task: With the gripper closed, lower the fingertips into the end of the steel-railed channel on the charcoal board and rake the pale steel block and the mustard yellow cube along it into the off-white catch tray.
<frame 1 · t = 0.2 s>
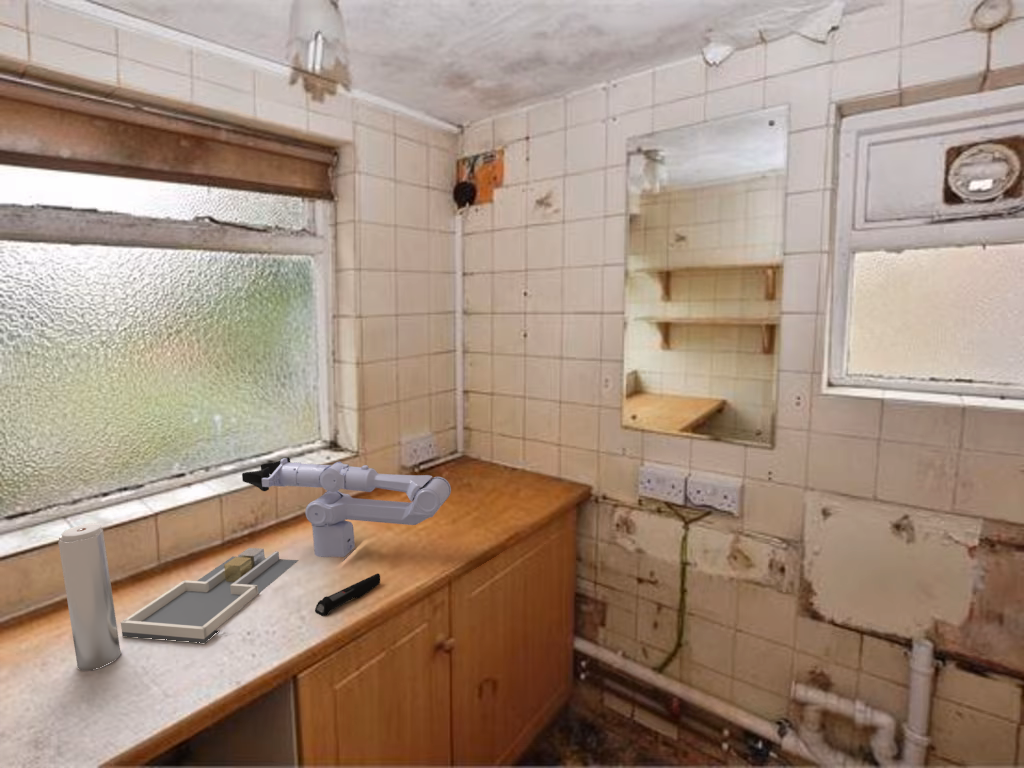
hand: (252, 472, 145), 21 cm above the counter, tool horizontal, fingers open, 7 cm apart
mustard yellow cube: (239, 577, 132), point 1 cm above the counter, touching channel board
steel chip: (252, 567, 136), point 1 cm above the counter, touching channel board
electric trimmer: (349, 600, 123), on the counter
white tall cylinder: (99, 660, 104), on the counter
channel board: (220, 596, 125), on the counter
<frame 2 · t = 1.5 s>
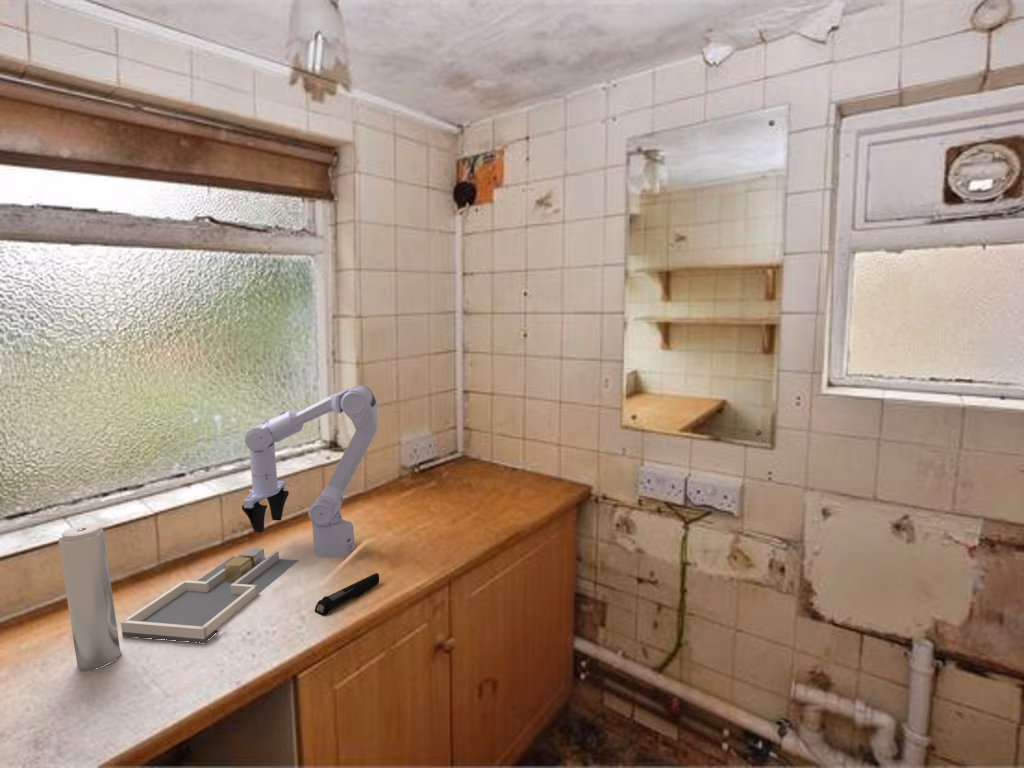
hand: (268, 525, 143), 8 cm above the counter, tool pointing down, fingers open, 7 cm apart
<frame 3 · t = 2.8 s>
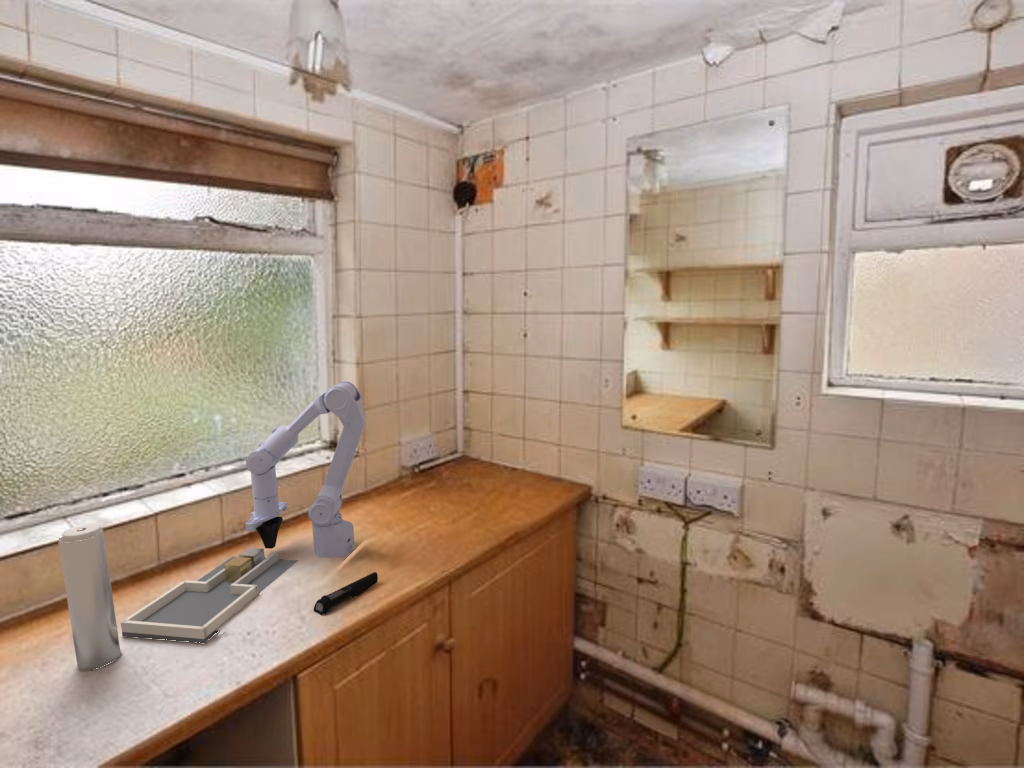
hand: (270, 547, 143), 3 cm above the counter, tool pointing down, fingers closed
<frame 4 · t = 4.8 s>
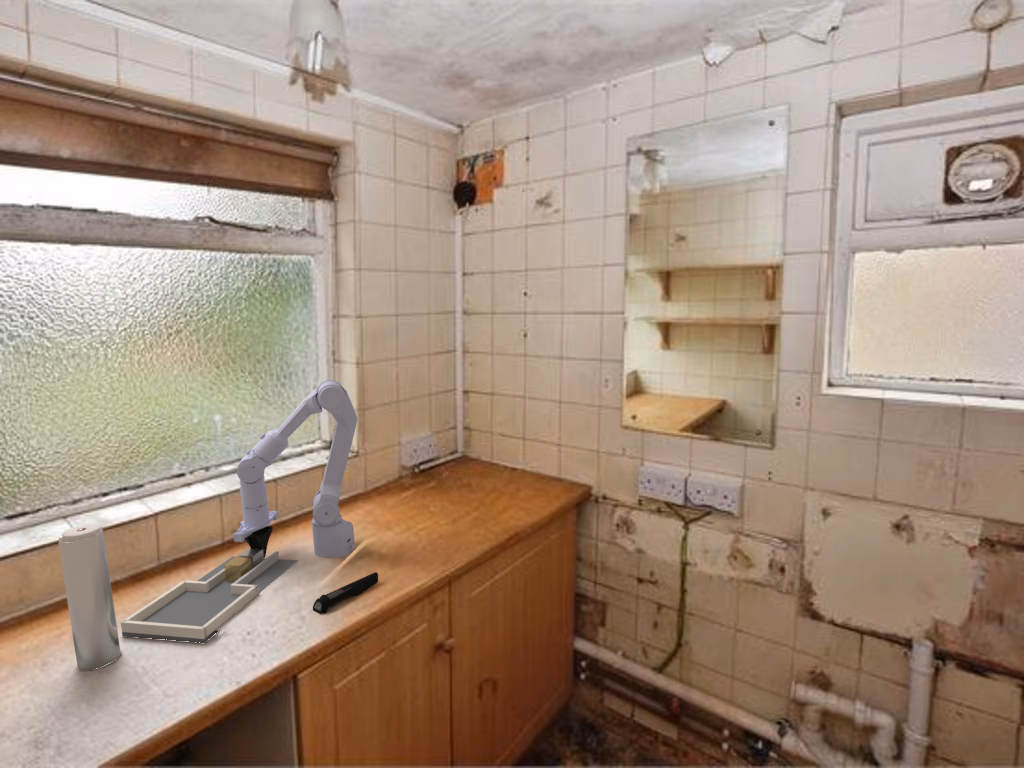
hand: (260, 557, 139), 2 cm above the counter, tool pointing down, fingers closed
steel chip: (251, 568, 136), point 1 cm above the counter, touching channel board, gripper
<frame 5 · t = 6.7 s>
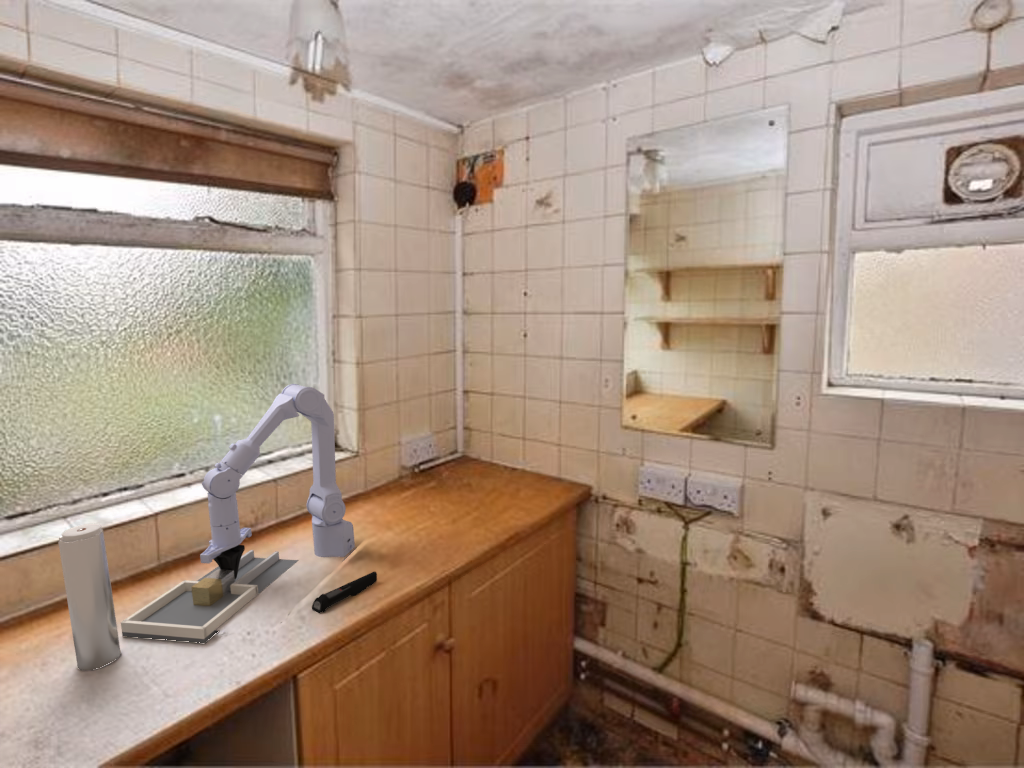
hand: (231, 579, 129), 2 cm above the counter, tool pointing down, fingers closed
mustard yellow cube: (208, 600, 122), point 1 cm above the counter, touching steel chip
steel chip: (221, 591, 126), point 1 cm above the counter, touching mustard yellow cube, gripper
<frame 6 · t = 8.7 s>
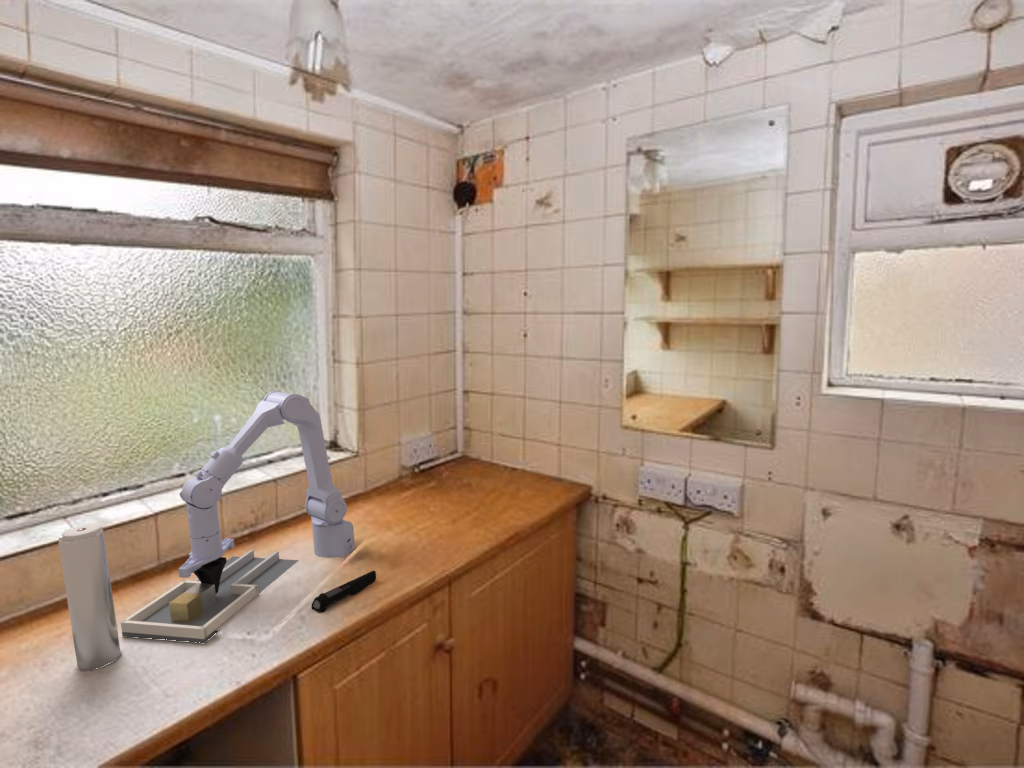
hand: (212, 593, 123), 2 cm above the counter, tool pointing down, fingers closed
mustard yellow cube: (187, 616, 116), point 1 cm above the counter, touching channel board, steel chip
steel chip: (201, 606, 120), point 1 cm above the counter, touching mustard yellow cube, channel board, gripper
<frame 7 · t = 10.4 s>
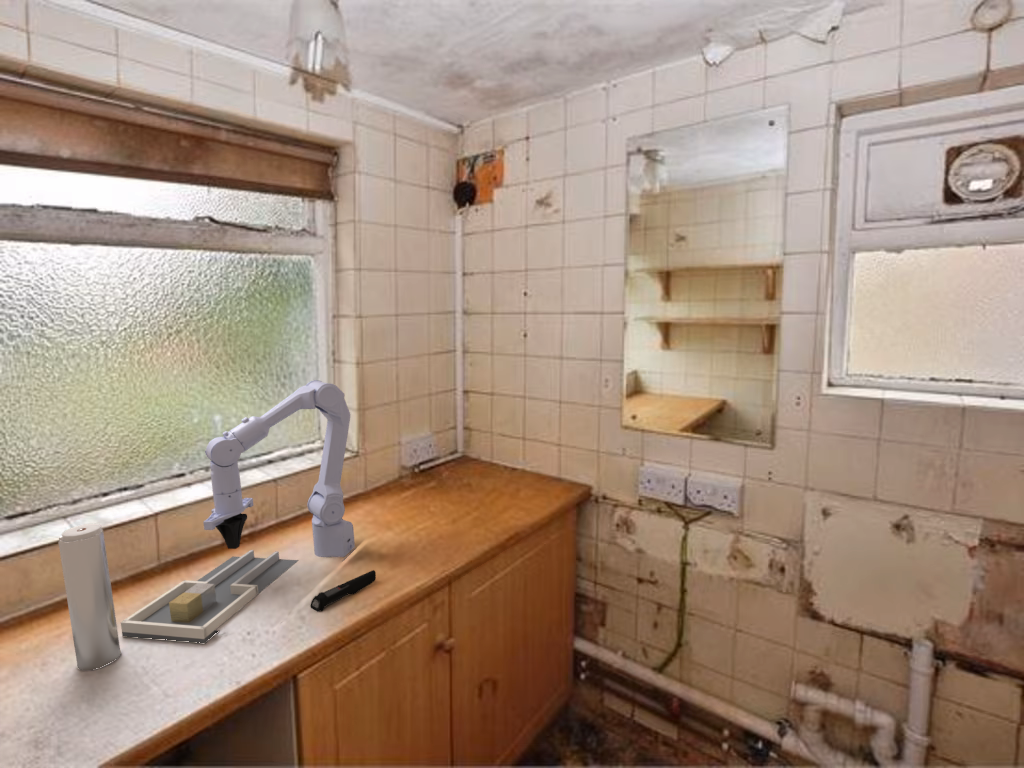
hand: (233, 547, 130), 9 cm above the counter, tool pointing down, fingers closed
steel chip: (201, 606, 120), point 1 cm above the counter, touching mustard yellow cube, channel board
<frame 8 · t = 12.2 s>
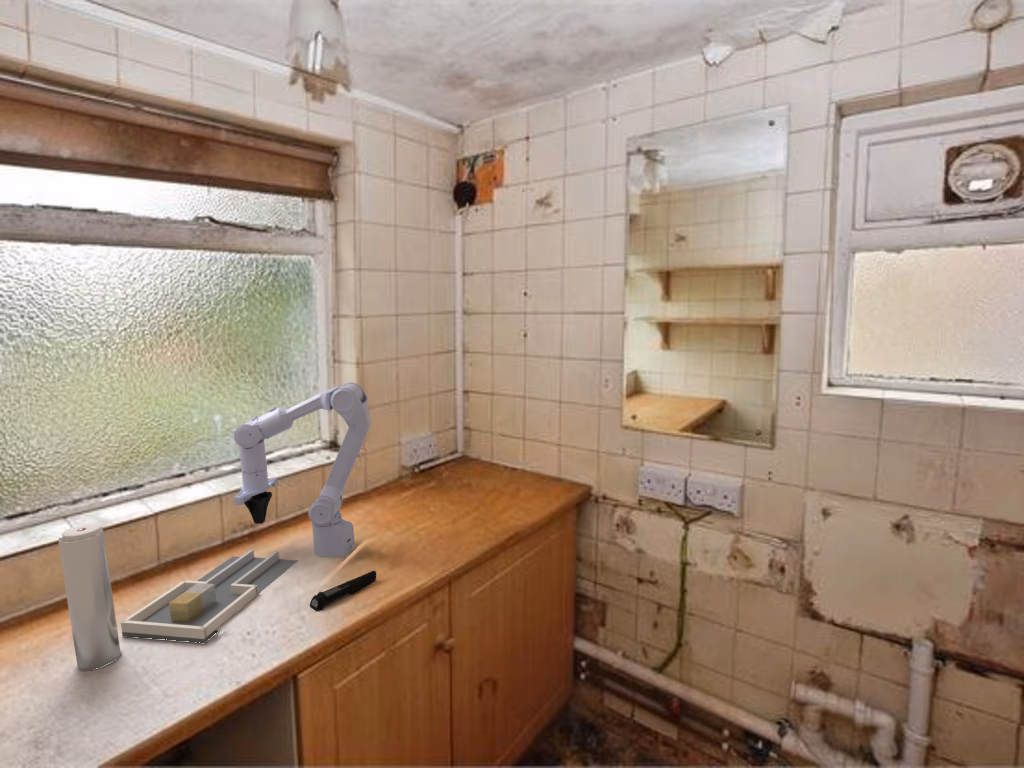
hand: (259, 522, 142), 9 cm above the counter, tool pointing down, fingers closed
at the end: steel chip inside the target area on the channel board (2.6 cm from its centre), point 1.0 cm above the channel board's base; mustard yellow cube inside the target area on the channel board (1.4 cm from its centre), point 1.0 cm above the channel board's base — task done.
